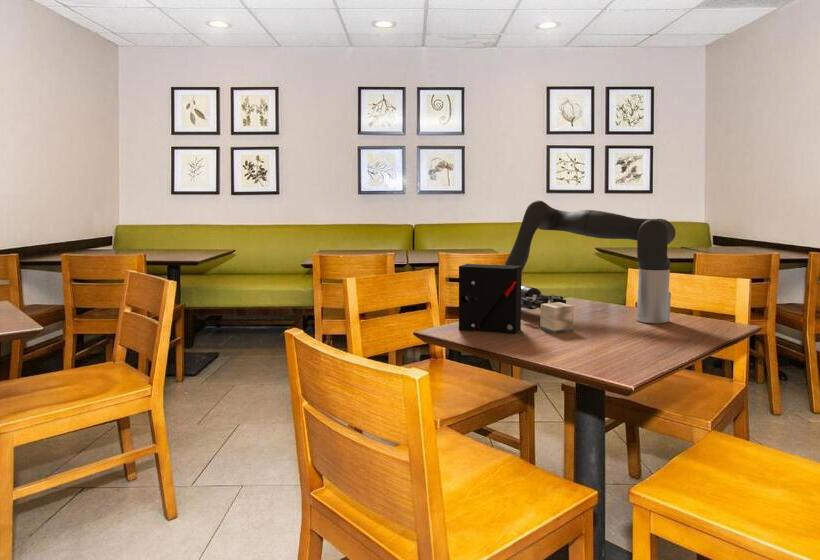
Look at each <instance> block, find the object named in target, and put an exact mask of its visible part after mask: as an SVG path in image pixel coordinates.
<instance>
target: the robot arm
mask: <svg viewBox="0 0 820 560" xmlns="http://www.w3.org/2000/svg"><path fill="white" fill-rule="evenodd" d="M538 229H539V230H542V231H558V232H560V231H561V232H567V233H571V234H574V235H575V234H576V235H580V236H585V237H589V238H596V239H605V240H606V239H607V240H632V241H636V244H637V245H636V247H637V248H636V258H637V261H638V283H637V301H636V302H637V305H636V321H638V322H640V323H645V324H666V323H668V322H670V317H671V316H670V315H671V297H672V293H671V292H670V272H671V261H670V259H669V257H668V245H669V244H671V243H672V241H674V239H675V237H676V228H675V226H674V225H673V223H671V222H670V221H669V220H667V219H663V218H638V217H637V218H636V217H631V216H627V215H623V214H619V213H612V212H608V211H601V210H594V209H585V210H584V209H583V210H582V209H581V210H577V211H567V210H566V211H564V210H560V209H556V208H553V207H552V206H550V205H548V204H547V203H546V202H545V201H542V200H534V201H532V202H531V203H530V204H529V205H528V206H527V208H526V210H525V212H524V215H523V218H522V221H521V223H520V226H519V229H518V232H517V235H516V239H515V241H514V244H513V246H512V249H511V250H510V253H509V255H508V257H507V259H506V260H505V263H504V265H512V266H522V272H523V270H524V268H525V266H526V265H527V263H528V259H529V256H530V251H531V245H532V242H533V241H532V240H533V238H534V236H535V233H536V231H537V230H538ZM556 302H561V303H565V304H567V300H566V299H564V296H561V295H556V294H554V293H553V294H552V293H551V294H545V293H542V292H541V291H540V289H538V288H536V287H532V286H528V285H521V308H523V309H527V310H536V309H541V304H545V303H556Z"/></svg>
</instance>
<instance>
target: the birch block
mask: <svg viewBox="0 0 820 560" xmlns="http://www.w3.org/2000/svg"><path fill="white" fill-rule="evenodd" d="M574 313H575V305H572V304H568V303H566V304H565V303H561V302H556V303H550V302H548V303H545V304H541V308H540V316H539V317H540V323H539V324H540V325H539V330H542V331H544V332H547V333H550V334H554V335H555V334H563V333H564V334H565V333H573V332H574V319H575V318H574Z"/></svg>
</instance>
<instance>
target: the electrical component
mask: <svg viewBox="0 0 820 560" xmlns="http://www.w3.org/2000/svg"><path fill="white" fill-rule="evenodd" d="M522 273H523V271H522V266H512V265H505V264H503V265H502V264H484V263H483V264H481V263H479V264H476V263H466V264H462V265H459V266H458V331H461V332H464V331H465V332H483V333H493V334H495V333H496V334H506V335H507V334H508V335H517V334H518V333H519V332H520V331H521V330H522V329H521V328H522V326H521V325H522V307H521V286H522Z"/></svg>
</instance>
